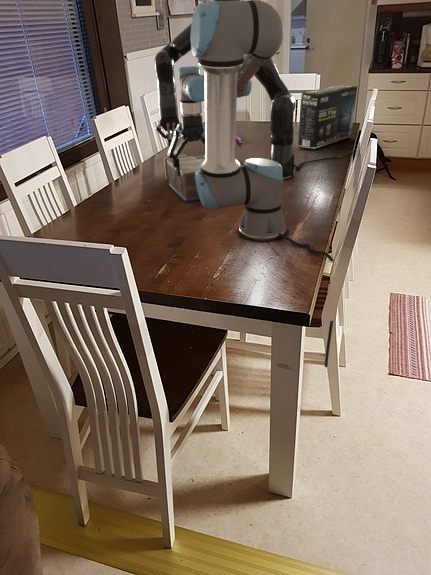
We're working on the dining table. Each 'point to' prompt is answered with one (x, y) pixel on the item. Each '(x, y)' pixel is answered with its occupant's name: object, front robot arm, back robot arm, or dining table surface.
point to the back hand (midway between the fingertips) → (171, 147)
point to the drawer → (167, 166)
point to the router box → (326, 115)
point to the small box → (184, 178)
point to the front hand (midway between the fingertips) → (195, 173)
